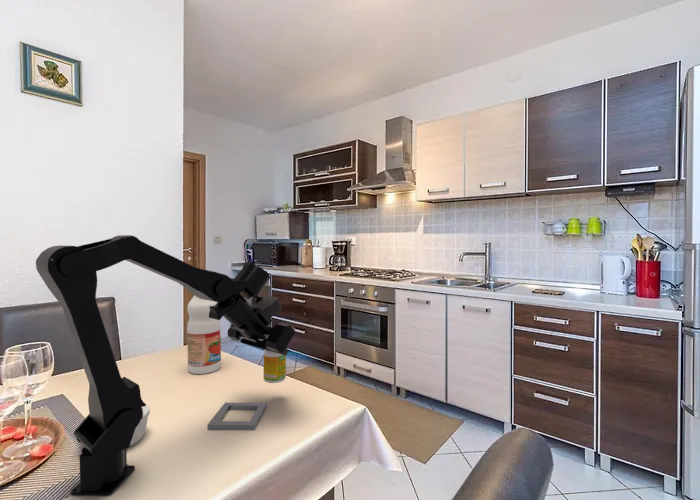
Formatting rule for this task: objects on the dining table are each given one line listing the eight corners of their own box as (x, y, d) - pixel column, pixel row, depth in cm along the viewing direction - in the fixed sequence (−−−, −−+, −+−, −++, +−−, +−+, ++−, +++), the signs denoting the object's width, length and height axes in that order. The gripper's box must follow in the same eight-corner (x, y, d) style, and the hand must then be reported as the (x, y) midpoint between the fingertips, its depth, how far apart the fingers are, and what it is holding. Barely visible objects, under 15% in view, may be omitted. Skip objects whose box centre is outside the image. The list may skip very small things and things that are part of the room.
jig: (254, 429, 74) (254, 425, 74) (207, 429, 74) (207, 424, 74) (266, 406, 84) (266, 402, 84) (225, 406, 84) (225, 402, 84)
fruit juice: (191, 365, 112) (189, 277, 111) (222, 362, 114) (221, 276, 113) (184, 376, 103) (182, 280, 102) (219, 373, 105) (217, 279, 104)
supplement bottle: (280, 384, 84) (280, 344, 84) (259, 382, 85) (259, 342, 85) (289, 376, 89) (289, 337, 89) (269, 374, 90) (269, 336, 90)
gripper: (289, 289, 78) (322, 329, 87) (237, 283, 89) (271, 319, 98) (260, 332, 71) (299, 370, 81) (209, 320, 83) (248, 354, 92)
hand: (279, 351), depth 88 cm, fingers closed on supplement bottle, 5 cm apart
